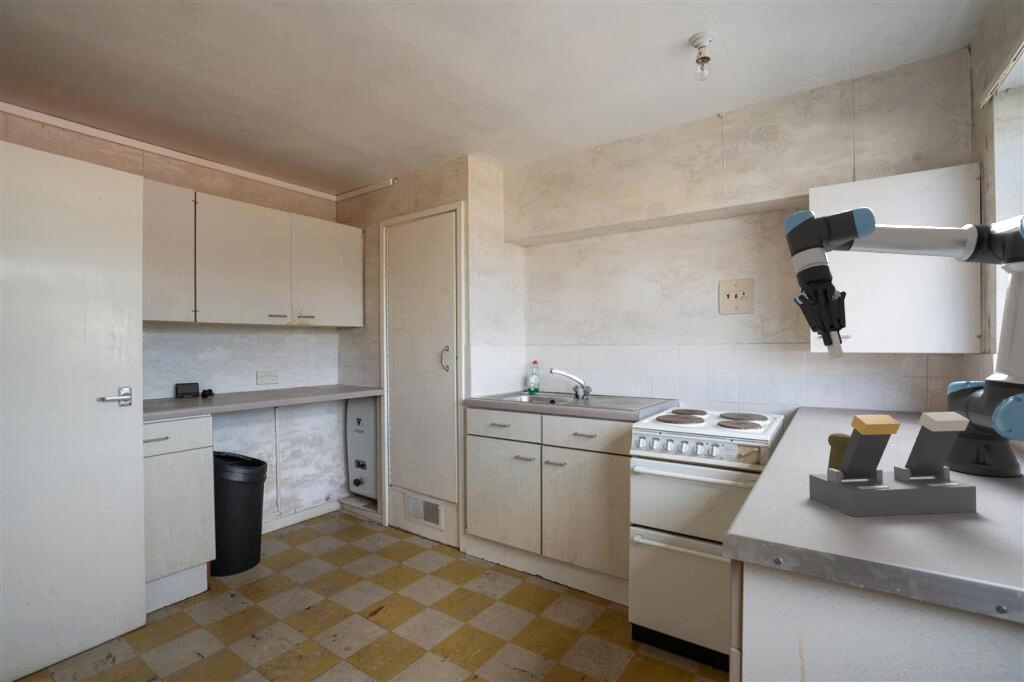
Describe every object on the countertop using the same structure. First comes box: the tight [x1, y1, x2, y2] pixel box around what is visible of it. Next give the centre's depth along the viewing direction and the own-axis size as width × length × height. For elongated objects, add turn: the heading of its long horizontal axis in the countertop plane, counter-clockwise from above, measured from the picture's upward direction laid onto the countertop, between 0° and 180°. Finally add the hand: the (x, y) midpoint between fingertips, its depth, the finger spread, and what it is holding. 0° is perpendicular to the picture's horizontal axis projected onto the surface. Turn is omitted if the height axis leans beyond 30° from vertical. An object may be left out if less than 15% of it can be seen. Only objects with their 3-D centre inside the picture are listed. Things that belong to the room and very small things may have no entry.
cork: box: [827, 432, 851, 470], centre depth 119 cm, size 6×6×11 cm
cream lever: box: [904, 411, 970, 478], centre depth 97 cm, size 3×7×15 cm, turn 95°
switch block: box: [808, 465, 977, 517], centre depth 99 cm, size 26×12×8 cm, turn 95°
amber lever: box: [838, 413, 901, 480], centre depth 96 cm, size 3×7×15 cm, turn 95°
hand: (837, 358), depth 117 cm, fingers closed
